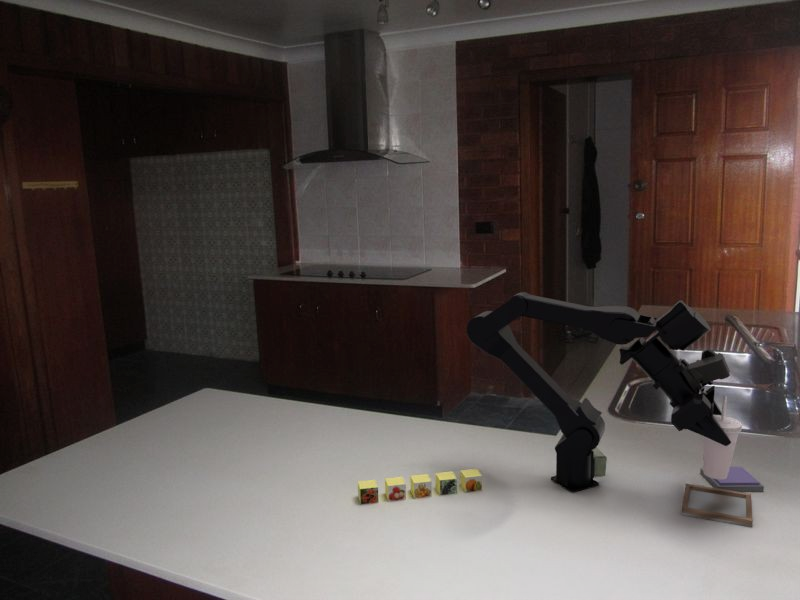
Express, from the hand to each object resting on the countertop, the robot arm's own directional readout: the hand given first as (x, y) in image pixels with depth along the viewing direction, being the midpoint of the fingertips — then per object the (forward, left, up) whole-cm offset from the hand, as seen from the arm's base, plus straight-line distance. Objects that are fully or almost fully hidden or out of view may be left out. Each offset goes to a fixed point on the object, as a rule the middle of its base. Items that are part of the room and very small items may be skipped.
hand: (728, 437), depth 113 cm
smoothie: (-1, +1, -7) cm, 7 cm away
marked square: (-1, +1, -13) cm, 13 cm away
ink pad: (+10, +6, -13) cm, 17 cm away
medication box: (-7, +26, -13) cm, 30 cm away
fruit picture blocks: (-43, +28, -13) cm, 53 cm away
